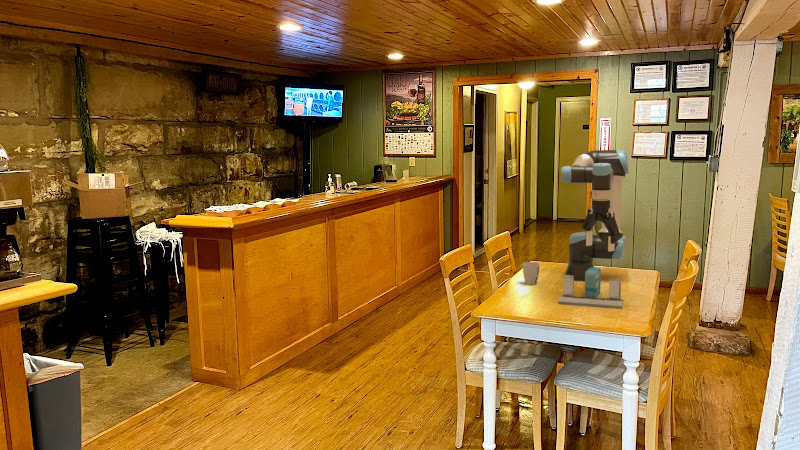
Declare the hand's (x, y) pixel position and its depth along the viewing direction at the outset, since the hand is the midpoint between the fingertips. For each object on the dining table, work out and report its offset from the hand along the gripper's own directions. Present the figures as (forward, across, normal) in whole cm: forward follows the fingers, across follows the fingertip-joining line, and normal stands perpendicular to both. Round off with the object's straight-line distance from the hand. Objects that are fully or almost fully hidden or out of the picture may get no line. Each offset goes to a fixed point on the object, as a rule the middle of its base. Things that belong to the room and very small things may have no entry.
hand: (599, 248), depth 261 cm
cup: (+24, -39, -8) cm, 47 cm away
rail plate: (+24, +1, -5) cm, 24 cm away
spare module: (+24, +2, +8) cm, 25 cm away
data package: (+24, -8, +4) cm, 26 cm away
